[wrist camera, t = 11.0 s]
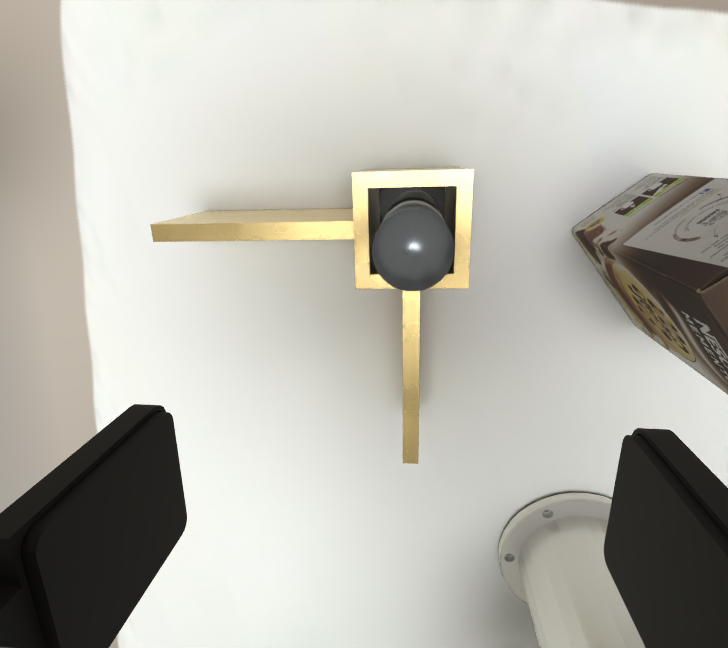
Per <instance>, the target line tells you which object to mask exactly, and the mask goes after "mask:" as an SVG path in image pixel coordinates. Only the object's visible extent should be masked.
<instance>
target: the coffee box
mask: <svg viewBox="0 0 728 648" xmlns="http://www.w3.org/2000/svg"><path fill="white" fill-rule="evenodd" d="M572 233H573V235H574V236H575V238H576V239H577V241H578V242H579V244H580V245H581V247H582V248H583V250H584V251H585V253H586V254H587V256H588V257H589V259H590V260H591V261H592V263H593V264H594V266H595V267H596V269H597V270H598V272H599V273H600V275H601V276H602V277H603V279H604V280H605V282H606V283H607V285H608V286H609V288H610V289H611V291H612V292H613V294H614V295H615V297H616V298H617V300H618V301H619V303H620V304H621V306H622V307H623V309H624V310H625V312H626V313H627V315H628V316H629V318H630V319H631V321H632V322H633V323H634V325H635V326H636V327H637V328H639V329H640V330H641V331H643V332H644V333H645V334H647V335H648V336H649V337H651V338H652V339H653V340H655V341H656V342H657V343H659V344H660V345H661V346H663V347H664V348H666V349H667V350H668V351H670V352H671V353H672V354H674V355H675V356H677V357H678V358H679V359H681V360H682V361H683V362H685V363H686V364H687V365H689V366H690V367H691V368H693V369H694V370H696V371H697V372H698V373H700V374H701V375H702V376H704V377H705V378H706V379H708V380H709V381H710V382H712V383H713V384H715V385H716V386H717V387H719V388H720V389H721V390H723V391H724V392H725V393H727V394H728V179H723V178H707V177H695V176H679V175H667V174H654V173H653V174H650V175H649V176H647V177H646V178H644V179H643V180H641V181H640V182H638V183H637V184H635V185H634V186H632V187H631V188H630V189H628V190H627V191H625V192H624V193H622V194H621V195H619V196H618V197H616V198H615V199H613V200H612V201H611V202H609V203H608V204H606V205H605V206H603V207H602V208H600V209H599V210H598V211H596V212H595V213H593V214H592V215H590V216H589V217H588V218H586V219H585V220H583V221H582V222H581V223H579V224H578V225H576V226H575V227H574V228H573V230H572Z"/></svg>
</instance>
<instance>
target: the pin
mask: <svg viewBox="0 0 728 648" xmlns="http://www.w3.org/2000/svg"><path fill="white" fill-rule="evenodd" d="M372 258H373V263H374V265H375V268H376V270H377V272H378V273H379V275H380V276H381V277H382V278H383V279H384V280H385V281H386V282H387V283H388V284H390V285H391V286H393V287H395V288H397V289H400V290H404V291H421V290H425V289H428V288H430V287H432V286H434V285H435V284H437V283H438V282H439V281H441V280H442V279H443V278H444V277H445V275H446V274H447V273H448V271H449V269H450V267H451V265H452V262H453V258H454V241H453V238H452V235H451V233H450V230H449V229H448V227H447V225H446V223H445V221H444V219H443V217H442V215H441V213H440V211H439V209H438V207H437V205H436V203H435V201H434V200H433V198H432V197H431V196H430V195H429V194H427V193H425V192H423V191H420V190H408V191H405V192H403V193H401V194H400V195H398V196H397V197H396V199H395V200H394V201H393V203H392V205H391V207H390V208H389V210H388V212H387V214H386V216H385V217H384V219H383V221H382V223H381V225H380V226H379V228H378V230H377V232H376V234H375V236H374V240H373V244H372Z"/></svg>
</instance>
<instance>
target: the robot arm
mask: <svg viewBox="0 0 728 648" xmlns="http://www.w3.org/2000/svg"><path fill="white" fill-rule="evenodd" d="M186 522H187V513H186V506H185V499H184V492H183V485H182V478H181V471H180V464H179V457H178V450H177V443H176V436H175V429H174V422H173V417H172V415H171V414H170V413H168V412H166V411H165V409H164V407H162V406H160V405H139V404H134V405H132V406H131V407H129V408H128V409H127V410H126V411H125V412H123V413H122V414H121V415H120V416H119V417H117V418H116V419H115V420H114V421H112V422H111V423H110V424H109V425H108V426H106V427H105V428H104V429H103V430H101V431H100V432H99V433H98V434H97V435H95V436H94V437H93V438H92V439H90V440H89V441H88V442H87V443H86V444H84V445H83V446H82V447H81V448H80V449H78V450H77V451H76V452H75V453H73V454H72V455H71V456H70V457H69V458H67V459H66V460H65V461H64V462H62V463H61V464H60V465H59V466H58V467H56V468H55V469H54V470H53V471H52V472H50V473H49V474H48V475H47V476H45V477H44V478H43V479H42V480H41V481H39V482H38V483H37V484H36V485H34V486H33V487H32V488H31V489H30V490H28V491H27V492H26V493H25V494H24V495H22V496H21V497H20V498H19V499H17V500H16V501H15V502H14V503H13V504H12V505H10V506H9V507H8V508H6V509H5V510H4V511H3V512H2V513H0V648H109V646H110V645H111V643H112V642H113V640H114V639H115V637H116V636H117V634H118V633H119V631H120V630H121V628H122V626H123V625H124V623H125V622H126V620H127V619H128V617H129V616H130V614H131V613H132V611H133V610H134V608H135V606H136V605H137V603H138V602H139V600H140V599H141V597H142V596H143V594H144V593H145V591H146V589H147V588H148V586H149V585H150V583H151V582H152V580H153V579H154V577H155V576H156V574H157V573H158V571H159V569H160V568H161V566H162V565H163V563H164V562H165V560H166V559H167V557H168V556H169V554H170V552H171V551H172V549H173V548H174V546H175V545H176V543H177V542H178V540H179V539H180V537H181V536H182V534H183V532H184V530H185V527H186ZM498 555H499V564H500V567H501V571H502V575H503V577H504V579H505V581H506V583H507V585H508V587H509V588H510V589H511V590H512V592H513V593H514V594H515V595H516V596H517V597H519V598H520V599H521V600H522V601H523V602H525V603H527V604H528V605H529V609H530V613H531V616H532V620H533V624H534V628H535V632H536V636H537V640H538V643H539V647H540V648H728V488H727V487H726V486H725V485H724V484H723V483H722V482H721V481H720V480H719V479H718V478H717V477H716V476H715V475H714V474H713V473H712V472H711V471H710V470H709V468H708V467H707V466H706V465H705V464H704V463H703V462H702V461H701V460H700V459H699V458H698V457H697V456H696V455H695V454H694V453H693V452H692V451H691V450H690V449H689V448H688V447H687V446H686V445H685V444H684V443H683V442H682V441H681V440H680V439H679V438H678V437H677V436H676V435H675V434H674V433H673V432H672V431H671V430H664V429H643V428H637V429H636V430H634V432H633V434H632V435H627V436H625V437H624V439H623V443H622V448H621V454H620V459H619V465H618V470H617V475H616V481H615V486H614V492H613V497H612V499H609V498H607V497H604V496H600V495H595V494H590V493H566V494H558V495H554V496H551V497H547V498H544V499H541V500H539V501H537V502H535V503H533V504H531V505H529V506H528V507H526V508H525V509H523V510H522V511H520V512H519V513H518V514H517V515H516V516H515V517H514V518H513V519H512V520H511V521H510V522H509V524H508V525H507V527H506V528H505V530H504V532H503V534H502V537H501V539H500V543H499V550H498Z"/></svg>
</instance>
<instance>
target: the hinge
mask: <svg viewBox="0 0 728 648" xmlns="http://www.w3.org/2000/svg"><path fill="white" fill-rule="evenodd" d="M473 174H474V169H468V168H460V167H452V168H415V169H378V170H363V171H357V172H352V192H353V208H346V209H292V210H238V211H205V212H201V213H197V214H192V215H188V216H184V217H180V218H175V219H171V220H167V221H163V222H159V223H154V224H151V230H152V236H153V242H166V241H250V240H333V239H354V252H355V283H356V289H397V288H395V287H393V286H391V285H390V284H388V283H387V282H386V281H385V280H384V279H383V278H382V277H381V276H380V275H379V273H378V272H377V270H376V268H375V265H374V263H373V258H372V244H373V240H374V236H375V234H376V232H377V230H378V228H379V226H380V189H379V188H392V187H435V186H446V198H445V223H446V225H447V227H448V229H449V230H450V233H451V235H452V238H453V241H454V258H453V262H452V265H451V267H450V269H449V271H448V273H447V274H446V275H445V277H444V278H443V279H442V280H441V281H439V282H438V283H437V284H435V285H434V286H432V287H430V288H428V289H442V288H468V287H469V265H470V242H471V219H472V197H473ZM419 355H420V291H404V290H403V463H415V464H418V445H419Z"/></svg>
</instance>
